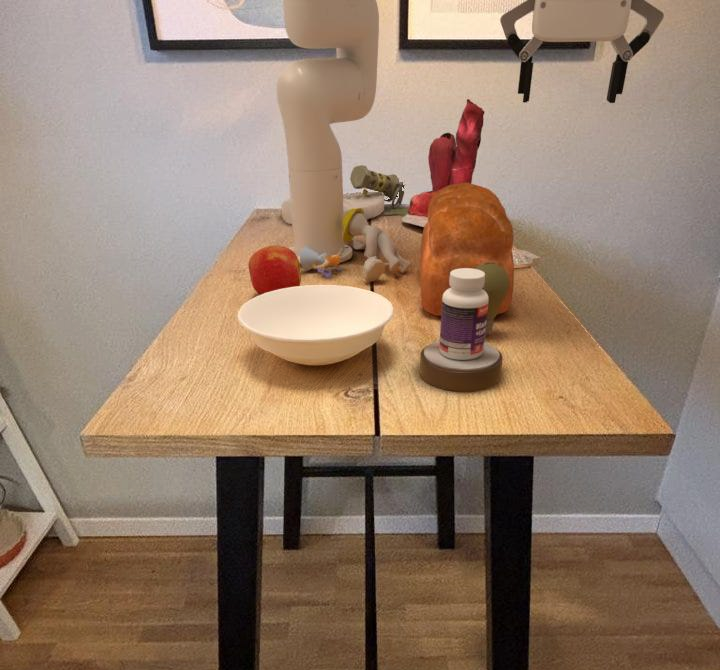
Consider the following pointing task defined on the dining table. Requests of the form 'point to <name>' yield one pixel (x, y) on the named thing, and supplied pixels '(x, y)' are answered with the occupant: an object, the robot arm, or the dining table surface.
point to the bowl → (316, 322)
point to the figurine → (372, 245)
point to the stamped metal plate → (524, 258)
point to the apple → (274, 269)
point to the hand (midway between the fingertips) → (567, 101)
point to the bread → (463, 240)
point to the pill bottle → (464, 315)
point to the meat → (450, 161)
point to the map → (397, 211)
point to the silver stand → (460, 369)
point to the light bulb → (494, 290)
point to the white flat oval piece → (348, 205)
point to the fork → (358, 245)
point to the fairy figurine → (317, 260)
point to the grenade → (377, 183)
